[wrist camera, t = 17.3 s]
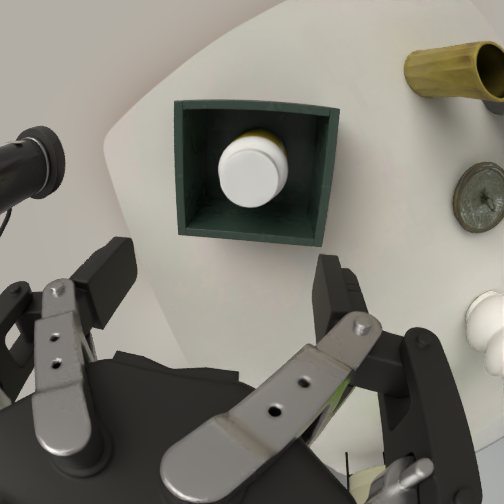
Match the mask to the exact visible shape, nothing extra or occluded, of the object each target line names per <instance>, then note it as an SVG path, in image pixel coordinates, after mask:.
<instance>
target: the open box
mask: <svg viewBox="0 0 504 504" xmlns="http://www.w3.org/2000/svg"><path fill="white" fill-rule="evenodd" d="M339 114H340V109H337V108H331V107H324V106H316V105H307V104H298V103H287V102H274V101H257V100H181V101H174V154H175V184H176V205H177V222H178V235H186V236H198V237H210V238H222V239H234V240H246V241H258V242H270V243H281V244H292V245H303V246H315V247H322V242H323V236H324V230H325V224H326V218H327V211H328V205H329V198H330V191H331V183H332V176H333V168H334V160H335V152H336V143H337V134H338V124H339ZM255 128H262V129H267V130H270V131H272V132H274V133H275V134H277V135H278V136H279V137H280V138H281V140H282V141H283V143H284V145H285V147H286V151H287V160H288V176H287V180H286V183H285V185H284V187H283V188H282V190H281V191H280V192H279V193H278V194H277V195H276V196H275V197H273V198H272V199H271V200H270V201H268V202H267V203H265V204H263V205H261V206H258V207H252V208H248V207H242V206H239V205H237V204H235V203H233V202H232V201H231V200H229V199H228V198H227V196H226V195H225V194H224V192H223V190H222V188H221V184H220V178H219V173H218V167H219V161H220V158H221V156H222V154H223V152H224V150H225V149H226V148H227V147H228V146H229V145H230V144H231V143H232V142H233V141H234V140H235V139H236V138H237V137H238V136H239V135H241V134H242V133H244V132H245V131H248V130H250V129H255Z"/></svg>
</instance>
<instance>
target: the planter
mask: <svg viewBox="0 0 504 504" xmlns="http://www.w3.org/2000/svg"><path fill="white" fill-rule="evenodd" d="M345 455H346V470H347V490H348V491H350V493H351V495H352V496H353V497H354V499H355V501H356V503H357V504H364V503H365V502H366V500H367V498H368V496H369V491H370V486H371V483H372V481H373V480H374V478H375V477H376V476H377V475H379V474H380V473H381V472H382V471H384V470H385V455H384V452H383V458H384V465H380V466H375V467H371V468H368V469H364V470H362V471H359V472H357V473H355V474H351V475H349V467H348V453H347V452H345ZM349 477H350V478H349ZM349 483H350V485H349Z"/></svg>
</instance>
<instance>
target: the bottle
mask: <svg viewBox="0 0 504 504" xmlns="http://www.w3.org/2000/svg"><path fill="white" fill-rule="evenodd" d="M483 102H484V104H485V105H486V107H487V108H488V109H489V110H490V111H491V112H493V113H496V114H500V115H504V102H494V101H488V100H483Z"/></svg>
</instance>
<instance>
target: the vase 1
mask: <svg viewBox="0 0 504 504" xmlns="http://www.w3.org/2000/svg"><path fill="white" fill-rule="evenodd" d="M404 73H405V77H406V80H407V82H408V84H409V85H410V87H411V88H412V89H413V90H414V91H415V92H416V93H418V94H419V95H420V96H423V97H426V98H439V97H465V98H473V99H481V100H488V101H494V102H504V49H503V48H502V47H501V46H500V45H498V44H496V43H494V42H491V41H482V42H475V43H466V44H461V45H455V46H449V47H443V48H435V49H428V50H423V51H422V50H419V51H415V52H413V53H411V54H410V55H409V56H408V57H407V59H406V61H405V65H404Z"/></svg>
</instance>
